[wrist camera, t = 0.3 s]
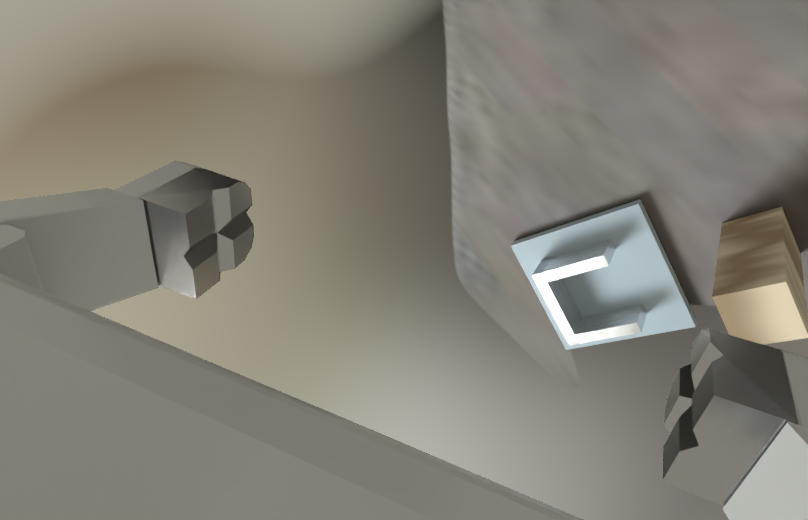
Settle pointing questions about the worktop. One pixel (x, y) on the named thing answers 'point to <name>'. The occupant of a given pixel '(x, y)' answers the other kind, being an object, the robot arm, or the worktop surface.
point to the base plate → (614, 270)
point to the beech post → (760, 279)
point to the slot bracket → (564, 305)
